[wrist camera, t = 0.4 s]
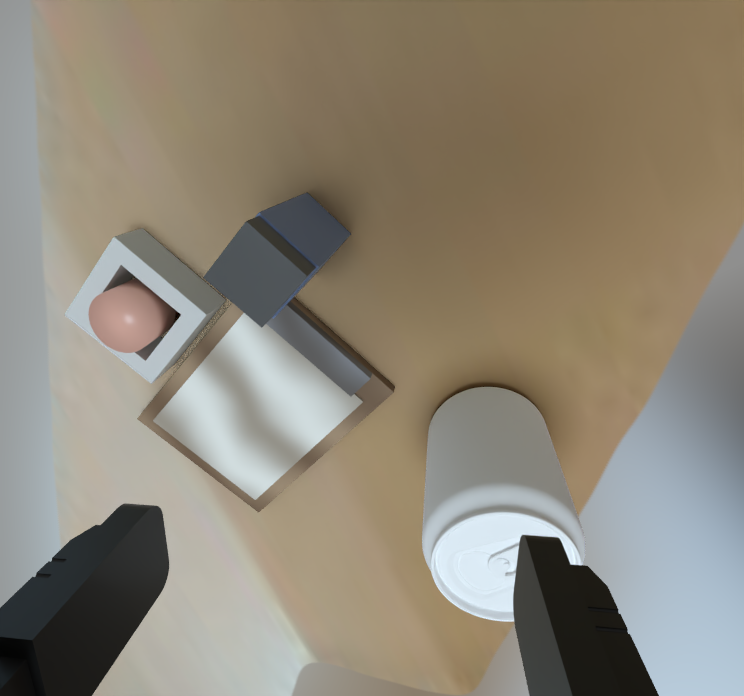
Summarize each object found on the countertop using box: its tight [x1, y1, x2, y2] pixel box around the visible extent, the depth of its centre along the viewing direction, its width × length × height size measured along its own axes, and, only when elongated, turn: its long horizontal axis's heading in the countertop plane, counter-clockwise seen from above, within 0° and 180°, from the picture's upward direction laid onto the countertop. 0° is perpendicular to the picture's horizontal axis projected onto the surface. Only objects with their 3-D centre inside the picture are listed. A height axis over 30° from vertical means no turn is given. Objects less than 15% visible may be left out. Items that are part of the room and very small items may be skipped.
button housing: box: [65, 228, 226, 384], centre depth 32 cm, size 7×7×3 cm
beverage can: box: [422, 387, 585, 621], centre depth 29 cm, size 8×8×12 cm
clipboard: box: [137, 298, 395, 512], centre depth 35 cm, size 16×12×2 cm
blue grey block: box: [203, 193, 351, 328], centre depth 26 cm, size 4×4×10 cm
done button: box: [89, 278, 175, 353], centre depth 31 cm, size 4×4×3 cm
